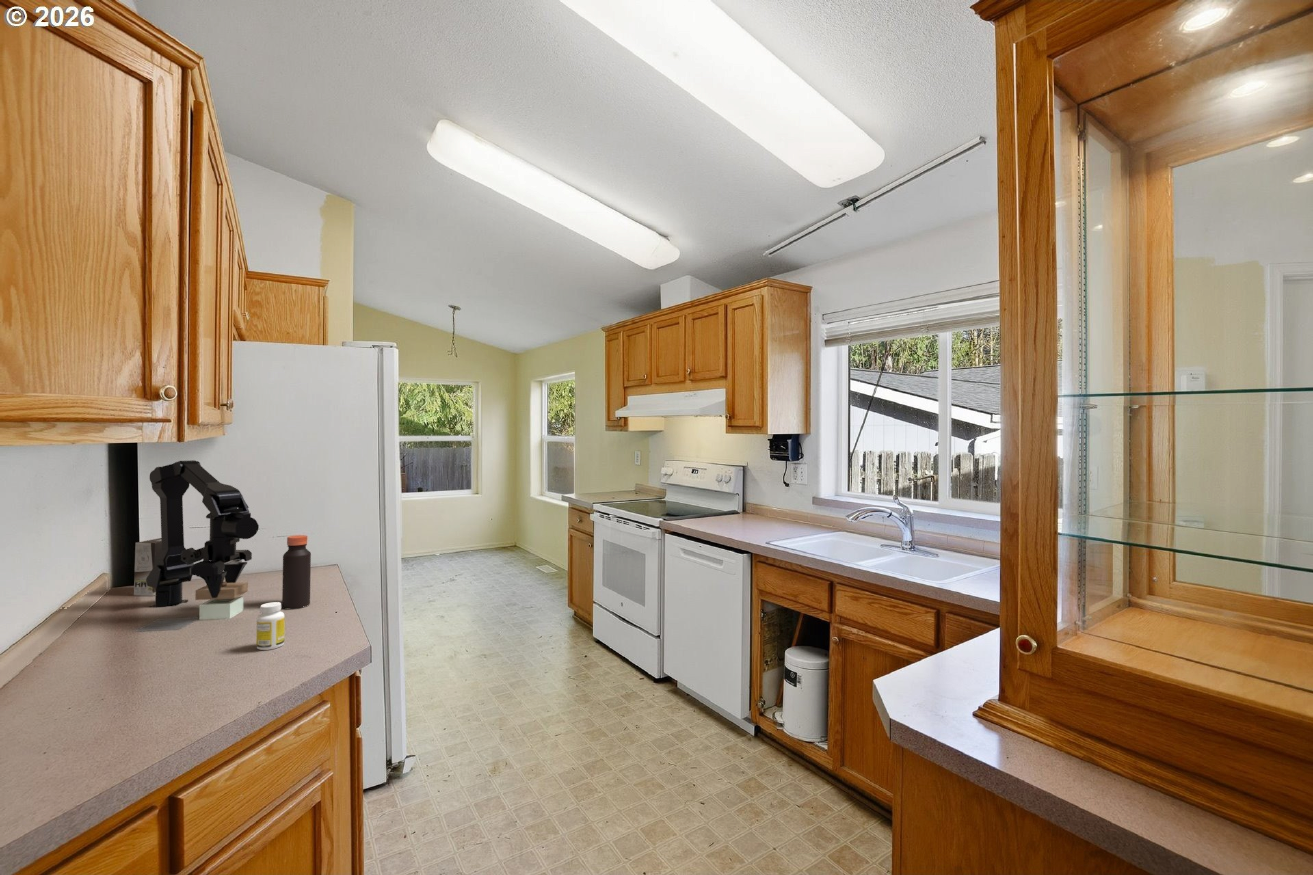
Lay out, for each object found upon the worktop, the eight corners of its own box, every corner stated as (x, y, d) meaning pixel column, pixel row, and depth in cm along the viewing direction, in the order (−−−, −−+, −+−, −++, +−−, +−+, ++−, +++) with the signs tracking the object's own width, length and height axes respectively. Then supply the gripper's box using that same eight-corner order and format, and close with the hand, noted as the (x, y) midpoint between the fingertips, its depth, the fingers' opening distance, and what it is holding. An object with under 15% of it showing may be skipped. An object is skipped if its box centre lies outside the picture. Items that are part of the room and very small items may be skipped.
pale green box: (214, 613, 154) (214, 597, 154) (243, 612, 156) (243, 596, 156) (199, 622, 148) (199, 604, 148) (229, 620, 149) (230, 603, 149)
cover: (210, 592, 154) (210, 579, 154) (247, 591, 156) (247, 578, 156) (195, 599, 147) (195, 586, 147) (234, 598, 149) (234, 585, 149)
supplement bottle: (281, 640, 136) (282, 599, 136) (286, 646, 132) (287, 604, 132) (254, 646, 132) (254, 604, 132) (258, 652, 128) (259, 609, 128)
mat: (159, 621, 148) (159, 618, 148) (202, 619, 150) (202, 616, 150) (132, 634, 138) (132, 631, 138) (179, 631, 140) (179, 629, 140)
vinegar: (312, 601, 167) (313, 534, 167) (306, 608, 160) (307, 538, 160) (286, 603, 165) (287, 534, 165) (278, 610, 158) (279, 539, 158)
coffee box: (154, 596, 170) (154, 542, 170) (133, 595, 170) (133, 542, 170) (180, 588, 179) (180, 537, 179) (160, 587, 179) (160, 536, 179)
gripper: (208, 530, 159) (207, 585, 159) (166, 542, 141) (165, 605, 141) (253, 529, 161) (252, 584, 161) (216, 542, 143) (215, 603, 143)
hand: (222, 593), depth 152 cm, fingers closed on cover, 7 cm apart
